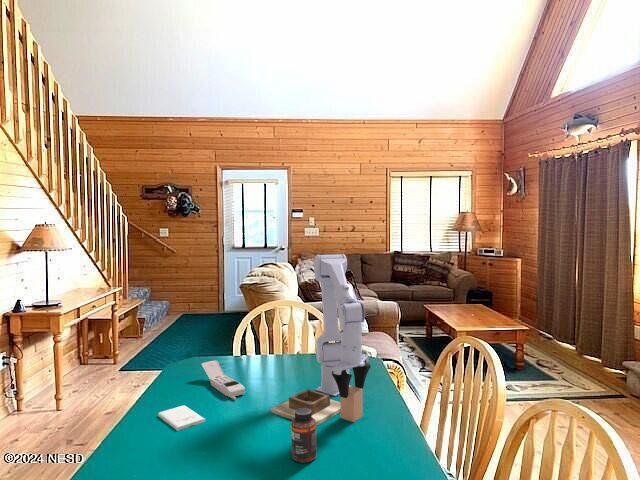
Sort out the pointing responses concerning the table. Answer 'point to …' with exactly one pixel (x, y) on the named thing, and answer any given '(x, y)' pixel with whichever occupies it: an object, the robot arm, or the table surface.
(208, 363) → the mobile phone
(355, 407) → the square peg
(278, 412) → the socket board
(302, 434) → the supplement bottle
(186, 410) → the external hard drive
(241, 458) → the table surface
